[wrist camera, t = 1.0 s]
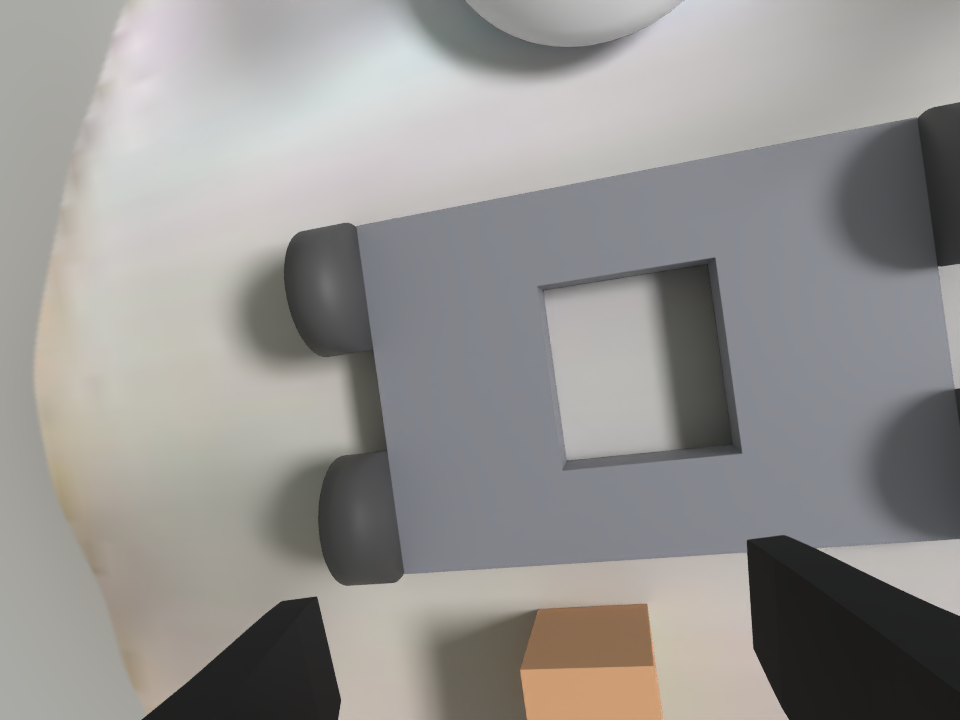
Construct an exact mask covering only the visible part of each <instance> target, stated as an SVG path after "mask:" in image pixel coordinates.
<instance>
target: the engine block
mask: <svg viewBox="0 0 960 720" xmlns="http://www.w3.org/2000/svg"><path fill="white" fill-rule="evenodd" d="M520 673H521V680H522V688H523V695H524V702H525V709H526V717H527V720H663V715H662V708H661V700H660V693H659V686H658V679H657V672H656V664H655V657H654V650H653V643H652V635H651V628H650V621H649V614H648V606H647V604H633V605H612V606H591V607H571V608H550V609H538V612H537V615H536V618H535V622H534V625H533V628H532V632H531V635H530V638H529V642H528V645H527V648H526V651H525V655H524V658H523V661H522V665H521V668H520Z"/></svg>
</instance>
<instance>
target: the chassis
mask: <svg viewBox="0 0 960 720" xmlns="http://www.w3.org/2000/svg"><path fill="white" fill-rule="evenodd" d="M356 227H357V228H356ZM356 227H355V226H354V225H352V224H350V223H342V224H337V225H332V226H327V227H322V228H317V229H312V230H307V231H302V232H299V233H297V234H296V235H295V236H294V237H293V238H292V239H291V241H290V243H289V245H288V248H287V252H286V256H285V264H284V281H285V290H286V296H287V301H288V305H289V309H290V312H291V315H292V318H293V321H294V323H295V326H296V328H297V330H298V332H299V334H300V335H301V337H302V339H303V340H304V342H305V343H306V345H307V346H308V347H309V348H310V349H311V350H312V351H313V352H314V353H316V354H318V355H320V356H323V357H329V356H336V355H342V354H349V353H356V352H363V351H369V350H374V358H375V365H376V372H377V379H378V387H379V394H380V401H381V408H382V415H383V423H384V430H385V437H386V444H387V451H382V452H373V453H364V454H355V455H346V456H341V457H339V458H337V459H336V460H335V461H334V462H333V463H332V464H331V466H330V467H329V469H328V471H327V473H326V476H325V478H324V481H323V485H322V489H321V494H320V501H319V517H318V521H319V535H320V542H321V548H322V552H323V556H324V559H325V562H326V564H327V567H328V569H329V571H330V572H331V574H332V576H333V577H334V578H335V579H336V580H337V581H338V582H339V583H340V584H342V585H346V586H350V585H367V584H384V583H395V582H397V581H398V580H399V579H400V578H401V577H402V576H403V574H413V573H429V572H445V571H461V570H476V569H492V568H508V567H524V566H540V565H555V564H571V563H587V562H603V561H619V560H634V559H650V558H666V557H682V556H698V555H713V554H729V553H745V552H747V540H749V539H756V538H764V537H771V536H779V535H786V536H788V537H791V538H793V539H796V540H798V541H800V542H803V543H805V544H807V545H809V546H811V547H813V548H824V547H840V546H856V545H871V544H887V543H903V542H919V541H935V540H950V539H960V389H954V381H953V374H952V367H951V359H950V352H949V345H948V338H947V330H946V323H945V316H944V309H943V301H942V294H941V287H940V279H939V272H938V266H948V265H954V264H960V102H959V103H954V104H949V105H944V106H938V107H934V108H931V109H928V110H927V111H925V112H924V113H923V114H921V115H920V116H919V118H918V119H917V117H916V118H911V119H906V120H900V121H895V122H890V123H885V124H880V125H875V126H870V127H864V128H859V129H854V130H849V131H844V132H839V133H834V134H828V135H823V136H818V137H813V138H808V139H803V140H797V141H792V142H787V143H782V144H777V145H772V146H767V147H761V148H756V149H751V150H746V151H741V152H736V153H731V154H725V155H720V156H715V157H710V158H705V159H700V160H695V161H689V162H684V163H679V164H674V165H669V166H664V167H658V168H653V169H648V170H643V171H638V172H633V173H628V174H622V175H617V176H612V177H607V178H602V179H597V180H592V181H586V182H581V183H576V184H571V185H566V186H561V187H555V188H550V189H545V190H540V191H535V192H530V193H525V194H519V195H514V196H509V197H504V198H499V199H494V200H489V201H483V202H478V203H473V204H468V205H463V206H458V207H452V208H447V209H442V210H437V211H432V212H427V213H422V214H416V215H411V216H406V217H401V218H396V219H391V220H386V221H380V222H375V223H370V224H365V225H360V226H356ZM704 264H708V270H709V277H710V284H711V292H712V299H713V306H714V313H715V321H716V328H717V335H718V342H719V350H720V357H721V364H722V371H723V379H724V386H725V393H726V400H727V408H728V415H729V422H730V429H731V437H732V444H733V445H723V446H713V447H702V448H692V449H682V450H672V451H662V452H652V453H642V454H632V455H622V456H611V457H601V458H591V459H581V460H571V461H566V454H565V446H564V439H563V432H562V425H561V417H560V410H559V403H558V396H557V388H556V381H555V374H554V367H553V360H552V352H551V345H550V338H549V331H548V323H547V316H546V309H545V302H544V294H543V290H547V289H554V288H560V287H566V286H572V285H579V284H585V283H591V282H598V281H604V280H610V279H616V278H623V277H629V276H635V275H642V274H648V273H654V272H660V271H667V270H673V269H679V268H686V267H692V266H698V265H704Z"/></svg>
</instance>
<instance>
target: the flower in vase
mask: <svg viewBox="0 0 960 720" xmlns="http://www.w3.org/2000/svg"><path fill="white" fill-rule="evenodd" d="M683 1H684V0H466V2H467V3H468V4H469V5H470V6H471V7H472V8H473V9H474V10H475V11H476V12H477V13H478V14H479V15H480V16H481V17H482V18H484V19H485V20H487V21H488V22H489V23H491V24H492V25H494V26H495V27H496V28H498V29H500V30H502V31H504V32H506V33H508V34H510V35H512V36H514V37H517V38H520V39H523V40H526V41H529V42H532V43H537V44H542V45H547V46H559V47H577V46H590V45H595V44H600V43H604V42H609V41H613V40H615V39H618V38H621V37H624V36H627V35H630V34H632V33H634V32H636V31H638V30H640V29H643V28H645V27H647V26H649V25H651V24H652V23H654V22H655V21H657V20H659V19H660V18H662V17H663V16H665V15H666V14H668V13H669V12H671V11H672V10H673V9H674V8H676V7H677V6H678V5H679V4H680V3H682V2H683Z"/></svg>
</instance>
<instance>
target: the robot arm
mask: <svg viewBox="0 0 960 720" xmlns="http://www.w3.org/2000/svg"><path fill="white" fill-rule="evenodd" d="M747 555H748V571H749V586H750V602H751V617H752V633H753V648H754V651H755V653H756V655H757V657H758V659H759V661H760V663H761V666H762V668H763V670H764V672H765V674H766V676H767V678H768V681H769V683H770V685H771V687H772V689H773V691H774V693H775V695H776V697H777V699H778V701H779V703H780V705H781V707H782V709H783V710H784V712H785V714H786V715H787V717H788V718H789V720H960V616H958V615H956V614H953V613H951V612H949V611H946V610H944V609H942V608H939V607H937V606H935V605H933V604H930V603H928V602H926V601H924V600H921V599H919V598H917V597H915V596H913V595H910V594H908V593H906V592H904V591H902V590H900V589H898V588H895V587H893V586H891V585H889V584H887V583H885V582H883V581H881V580H879V579H877V578H875V577H873V576H870V575H868V574H866V573H864V572H862V571H860V570H858V569H856V568H854V567H852V566H850V565H848V564H846V563H844V562H842V561H840V560H838V559H836V558H834V557H832V556H830V555H828V554H826V553H824V552H822V551H819V550H817V549H815V548H813V547H811V546H809V545H807V544H805V543H803V542H800V541H798V540H796V539H793V538H791V537H788V536H786V535H779V536H771V537H764V538H756V539H749V540H747ZM340 704H341V698H340V693H339V689H338V685H337V681H336V676H335V672H334V668H333V663H332V659H331V655H330V650H329V646H328V642H327V637H326V633H325V629H324V624H323V620H322V616H321V612H320V607H319V603H318V599H317V597H310V598H302V599H295V600H287V601H282V602H280V603H279V604H278V605H276V606H275V607H273V608H272V609H271V610H270V611H268V612H267V613H266V614H265V615H264V616H262V617H261V618H260V619H259V620H258V621H257V622H256V623H254V624H253V625H252V626H251V627H250V628H249V629H248V630H246V631H245V632H244V633H243V634H242V635H241V636H240V637H238V638H237V639H236V640H235V641H234V642H233V643H232V644H231V645H230V646H228V647H227V648H226V649H225V650H224V651H223V652H222V653H220V654H219V655H218V656H217V657H216V658H215V659H214V660H212V661H211V662H210V663H209V664H208V665H207V666H206V667H204V668H203V669H202V670H201V671H200V672H199V673H198V674H196V675H195V676H194V677H193V678H192V679H191V680H190V681H188V682H187V683H186V684H185V685H184V686H182V687H181V688H180V689H179V690H177V691H176V692H175V693H174V694H173V695H171V696H170V697H169V698H168V699H166V700H165V701H164V702H163V703H162V704H160V705H159V706H158V707H157V708H155V709H154V710H153V711H152V712H151V713H149V714H148V715H147V716H146V717H144V718H143V719H142V720H338V716H339V710H340Z"/></svg>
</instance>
